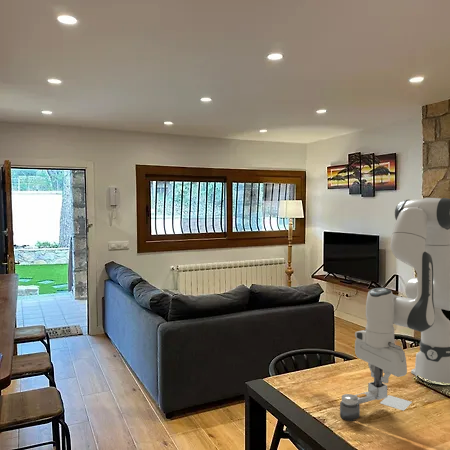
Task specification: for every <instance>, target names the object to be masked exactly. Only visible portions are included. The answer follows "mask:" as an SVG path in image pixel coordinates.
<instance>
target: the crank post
mask: <svg viewBox="0 0 450 450" xmlns="http://www.w3.org/2000/svg"><path fill="white" fill-rule="evenodd" d="M360 408H361V406H360V404H358V406H357V407H346V406H344V405H343V404H342V400H341V401H340V402H339V417H340V418H341V419H342V420H344V421H347V422H356V421H357V420H358V419H360V414H361V413H360Z"/></svg>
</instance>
